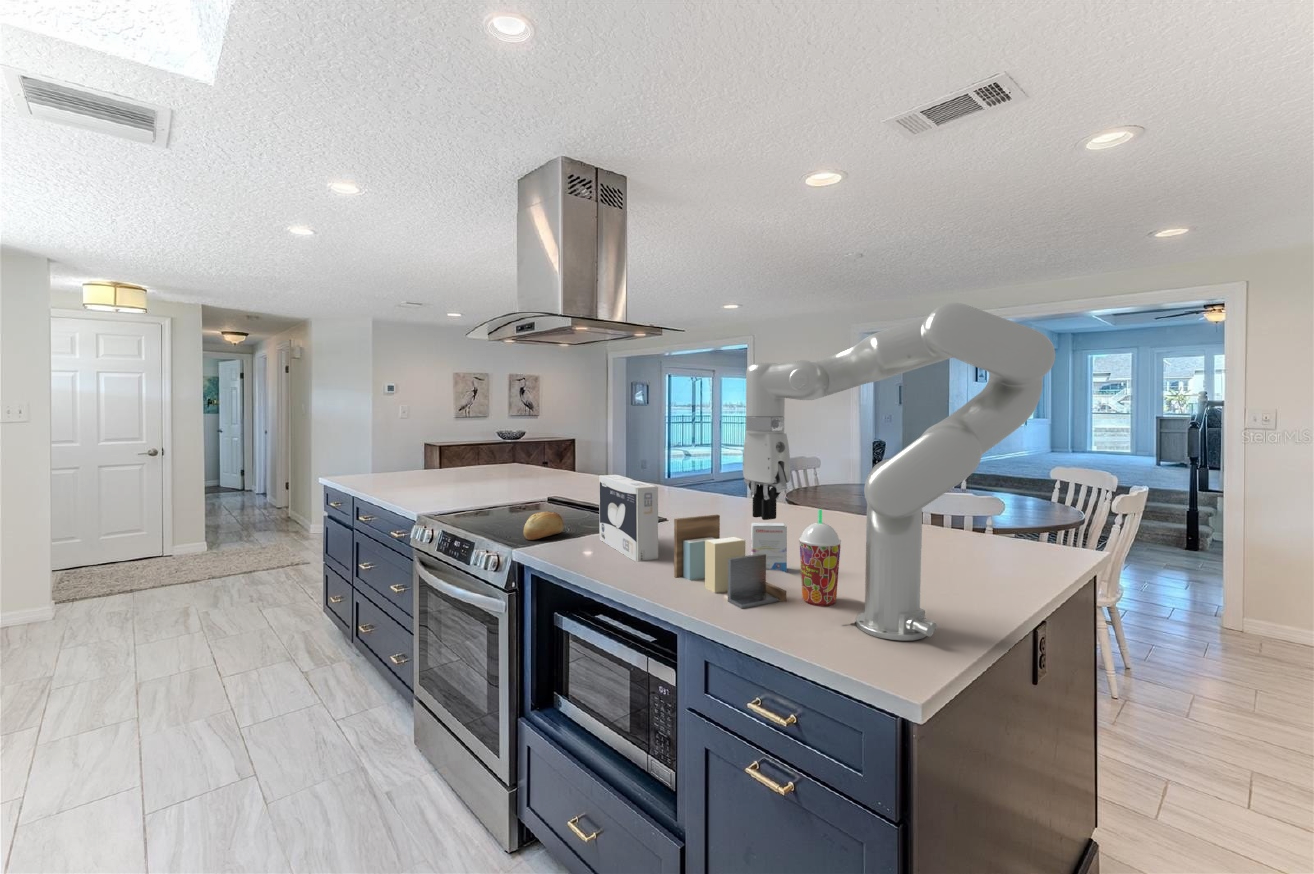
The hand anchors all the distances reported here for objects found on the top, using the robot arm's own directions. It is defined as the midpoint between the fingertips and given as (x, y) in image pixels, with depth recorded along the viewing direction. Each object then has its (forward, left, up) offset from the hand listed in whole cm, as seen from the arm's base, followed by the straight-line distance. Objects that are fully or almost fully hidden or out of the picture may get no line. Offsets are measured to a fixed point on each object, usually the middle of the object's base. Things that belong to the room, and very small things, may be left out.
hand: (764, 517), depth 118 cm
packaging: (+60, +4, -19) cm, 63 cm away
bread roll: (+87, +20, -19) cm, 91 cm away
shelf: (+14, 0, -19) cm, 24 cm away
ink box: (+24, -19, -19) cm, 36 cm away
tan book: (+14, 0, -19) cm, 23 cm away
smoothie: (-2, -12, -19) cm, 23 cm away
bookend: (+4, 0, -18) cm, 19 cm away
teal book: (+24, 0, -19) cm, 30 cm away
